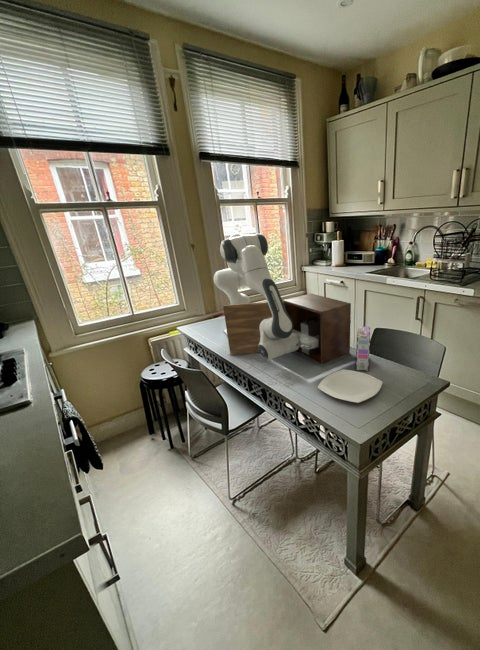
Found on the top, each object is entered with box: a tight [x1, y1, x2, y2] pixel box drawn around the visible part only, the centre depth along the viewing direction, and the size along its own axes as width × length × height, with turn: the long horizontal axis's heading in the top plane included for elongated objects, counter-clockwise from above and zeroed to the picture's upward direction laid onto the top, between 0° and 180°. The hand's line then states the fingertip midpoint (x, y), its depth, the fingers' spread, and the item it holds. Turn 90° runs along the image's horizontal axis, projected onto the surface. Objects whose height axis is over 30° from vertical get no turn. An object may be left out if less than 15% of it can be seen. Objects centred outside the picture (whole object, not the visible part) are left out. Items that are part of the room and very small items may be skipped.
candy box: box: [355, 325, 371, 372], centre depth 143 cm, size 14×6×16 cm, turn 168°
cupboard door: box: [222, 301, 272, 356], centre depth 161 cm, size 7×28×26 cm, turn 98°
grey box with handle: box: [301, 317, 321, 355], centre depth 155 cm, size 6×9×17 cm, turn 128°
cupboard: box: [282, 293, 352, 365], centre depth 155 cm, size 18×28×26 cm, turn 38°
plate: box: [317, 368, 384, 404], centre depth 127 cm, size 23×23×2 cm
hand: (313, 334), depth 156 cm, fingers closed on grey box with handle, 5 cm apart
